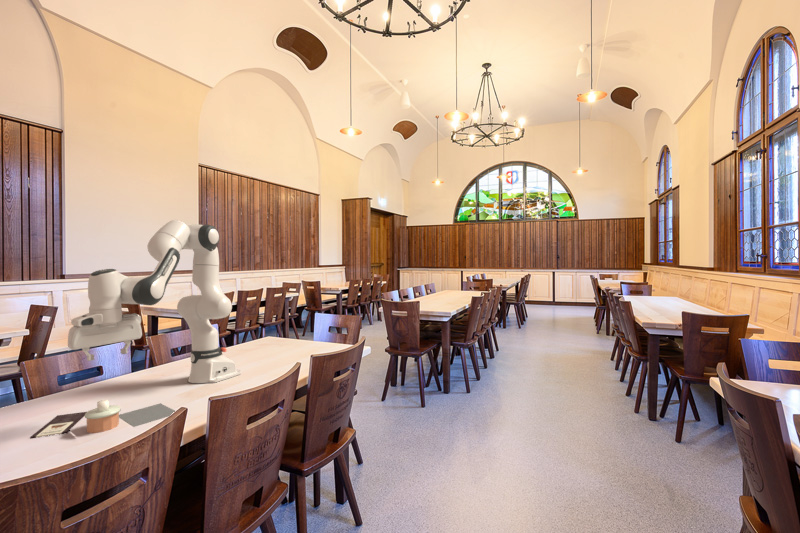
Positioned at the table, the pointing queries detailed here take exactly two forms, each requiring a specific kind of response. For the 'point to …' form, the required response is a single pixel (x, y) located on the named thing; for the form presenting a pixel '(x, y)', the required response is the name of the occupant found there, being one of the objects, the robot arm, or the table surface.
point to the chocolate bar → (59, 425)
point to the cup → (102, 423)
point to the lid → (102, 410)
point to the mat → (146, 414)
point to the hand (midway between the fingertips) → (107, 356)
